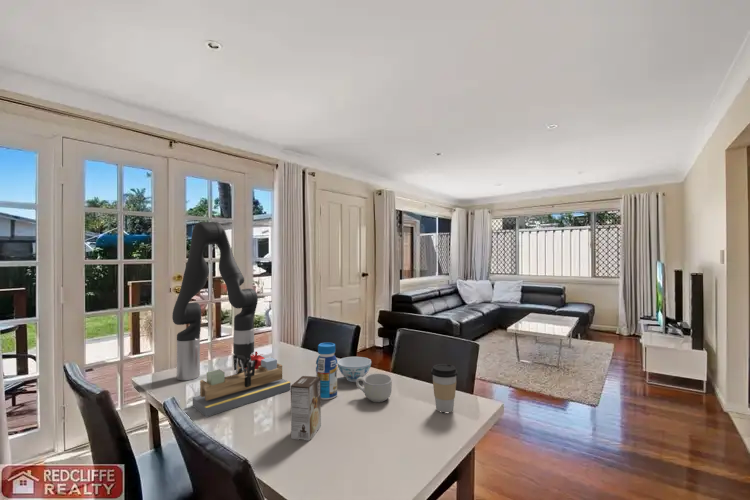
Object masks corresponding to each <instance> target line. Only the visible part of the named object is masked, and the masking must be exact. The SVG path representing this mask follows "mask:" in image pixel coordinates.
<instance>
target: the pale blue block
mask: <svg viewBox="0 0 750 500" xmlns="http://www.w3.org/2000/svg"><path fill="white" fill-rule="evenodd" d="M277 363H278V359H277V358H273V357H268V358H265V359H262V360H261V366H262V367H264V368H266V369H268V371H269V370H273V369H277Z"/></svg>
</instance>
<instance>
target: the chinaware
mask: <svg viewBox="0 0 750 500" xmlns="http://www.w3.org/2000/svg"><path fill="white" fill-rule="evenodd" d="M336 365H337V367H338V370H339V373H341V375H342V376H343V377H345V378H346V381H348V382H350V383H351V382H353V383H356V380H357V379H358V378H359V377H362V378H365V377H366V376H367V374H368V373H369V371H370V368H371V365H372V359H370V358H368V357H364V356H347V357H342V358H340V359H337V364H336ZM360 381H361V380H359V382H360Z"/></svg>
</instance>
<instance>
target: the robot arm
mask: <svg viewBox="0 0 750 500" xmlns="http://www.w3.org/2000/svg"><path fill="white" fill-rule="evenodd" d="M190 239H191V241H190V248H189V253H188V257H187V261H186V265H185V269H184V273H183V275H182V281H181V286H180V288H179V293H178V296H177V299H176V301H175V304H174V305H173V306H174V307H173V310H172V322H173V324H175V325H177V326H183V325H188V326H187V327H186V328H185V329H183V330H182V331H179V332H178V333H177V334H176V380H178V381H191V380H194V379H197V378H199V377H200V375H201V337H200V336H201V329H202V328H201V326H202V322H201V321H202V307H201V304H200V303H198V302H190V301H191V300H192V299H193V298H194V297H195V296H197V295H198V293H199V292H200V291H201V290H203V288H204V287H205V286H206V284H207V281H208V277H209V275H210V268H209V265H208V263H207V262H206V260H205V257H204V250H205V247H206V246H208V245H209V246H211V245H216V246H217V247H218V250H219V262H218V270H219V274H220V275H221V278H222V280H223V282H224V283H225V286H226V293H227V298H228V302H229V304H230V306H232V307H233V308H235V309H241V311H240V312H239V313H238V314H235V316H234V320H233V323H234V324H233V326H234V328H233V339H232V340H233V348H232V349H233V351H232V352H233V355H232V357H233V359H232V360H233V362H232V363H233V371H235V372H236V374H239V373H243V372H244V375H245V387H250V386H251V376H254V373H255V360H253V361H252V360H251V356H252V355H251V354H254V353H255V330H254V317H255V315H256V309H257V307H258V301H259V298H258V297H259V296H258V294H257V291H255V289H253V288H244V289H241V286H242V285H244V283H245V277H244V275H243V273H242V272H241V269H240V268H239V266H238V264H237V261H236V260H235V257H234V255H233V250H232V248H231V244H230V241H229V239H228V235H227V233H226V230H225V228H224V226H223V225H222V223H221V222H217V221H207V222H206V221H205V222H198V223H196V224H195V225H194V226H193V228H192V233H191V238H190ZM245 368H247V369H245Z"/></svg>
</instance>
